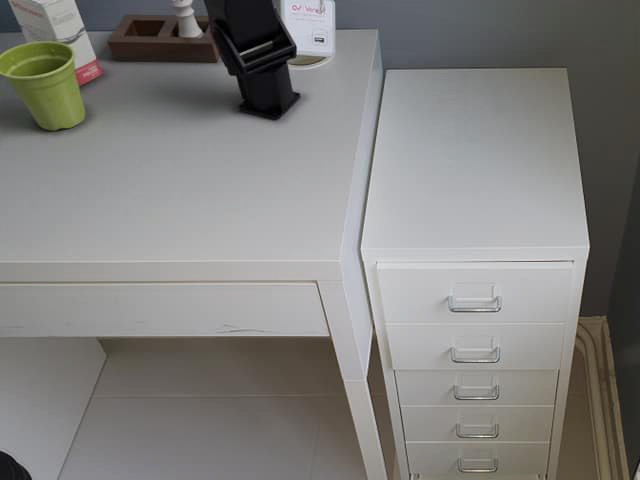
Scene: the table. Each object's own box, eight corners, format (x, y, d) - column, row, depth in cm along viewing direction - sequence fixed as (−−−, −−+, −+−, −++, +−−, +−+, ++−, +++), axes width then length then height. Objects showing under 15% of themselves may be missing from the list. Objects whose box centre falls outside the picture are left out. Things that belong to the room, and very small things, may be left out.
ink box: (106, 74, 107) (72, -9, 98) (77, 89, 105) (40, 5, 95) (67, 57, 110) (31, -25, 101) (38, 72, 107) (-2, -12, 98)
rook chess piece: (185, 58, 111) (168, 4, 104) (175, 45, 113) (159, -8, 107) (213, 50, 112) (199, -3, 106) (203, 38, 115) (189, -15, 108)
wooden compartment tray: (217, 62, 110) (212, 43, 108) (114, 61, 110) (106, 41, 107) (229, 34, 115) (224, 15, 113) (131, 33, 115) (124, 14, 113)
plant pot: (60, 94, 104) (32, 34, 97) (114, 109, 102) (89, 49, 95) (10, 128, 98) (-23, 67, 91) (66, 145, 96) (36, 84, 89)
